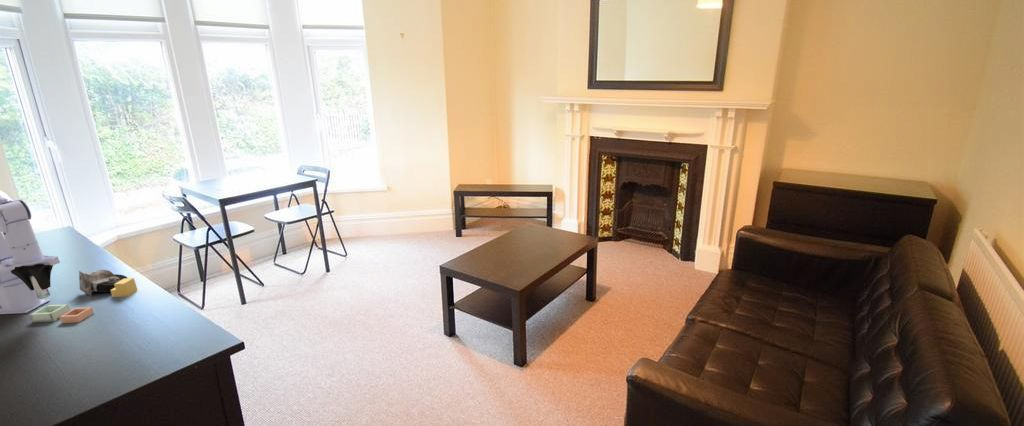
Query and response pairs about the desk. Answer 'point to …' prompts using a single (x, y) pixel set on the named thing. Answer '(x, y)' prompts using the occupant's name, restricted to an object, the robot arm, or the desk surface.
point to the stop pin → (38, 288)
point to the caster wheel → (98, 281)
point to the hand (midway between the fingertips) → (40, 288)
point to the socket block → (76, 315)
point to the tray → (49, 313)
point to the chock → (124, 288)
